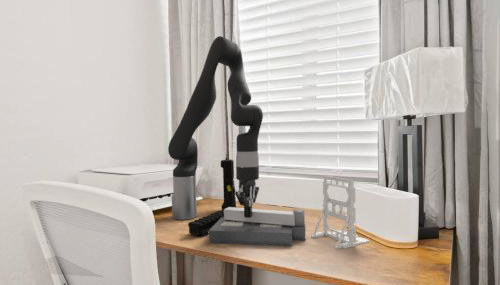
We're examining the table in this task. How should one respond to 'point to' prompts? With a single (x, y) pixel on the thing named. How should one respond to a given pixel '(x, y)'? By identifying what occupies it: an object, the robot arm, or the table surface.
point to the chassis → (254, 233)
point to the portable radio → (228, 183)
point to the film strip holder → (340, 215)
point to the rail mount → (205, 223)
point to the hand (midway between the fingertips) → (248, 217)
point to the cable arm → (267, 216)
